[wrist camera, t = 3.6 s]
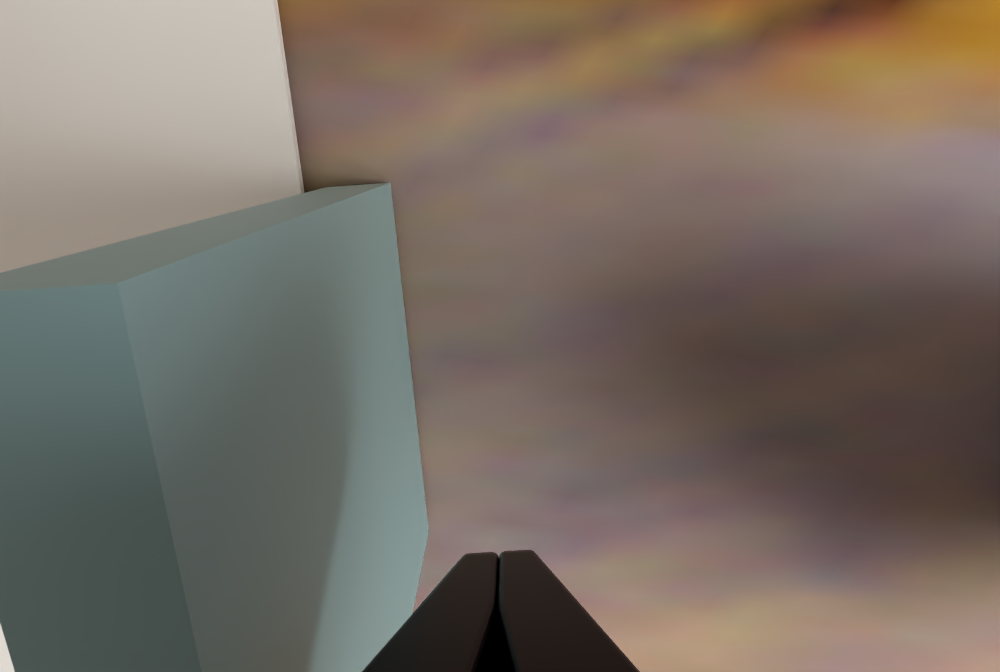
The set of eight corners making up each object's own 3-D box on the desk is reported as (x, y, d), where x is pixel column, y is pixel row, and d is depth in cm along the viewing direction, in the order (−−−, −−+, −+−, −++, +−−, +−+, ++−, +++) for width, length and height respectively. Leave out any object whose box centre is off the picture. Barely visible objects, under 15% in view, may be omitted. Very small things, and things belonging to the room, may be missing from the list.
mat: (273, -26, 15) (269, -28, 15) (373, 679, 20) (371, 687, 20) (-359, 26, 16) (-375, 24, 15) (-115, 706, 20) (-124, 714, 20)
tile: (390, 182, 16) (117, 283, 5) (428, 531, 19) (305, 1153, 7) (317, 187, 17) (-125, 299, 5) (364, 534, 19) (141, 1159, 7)
